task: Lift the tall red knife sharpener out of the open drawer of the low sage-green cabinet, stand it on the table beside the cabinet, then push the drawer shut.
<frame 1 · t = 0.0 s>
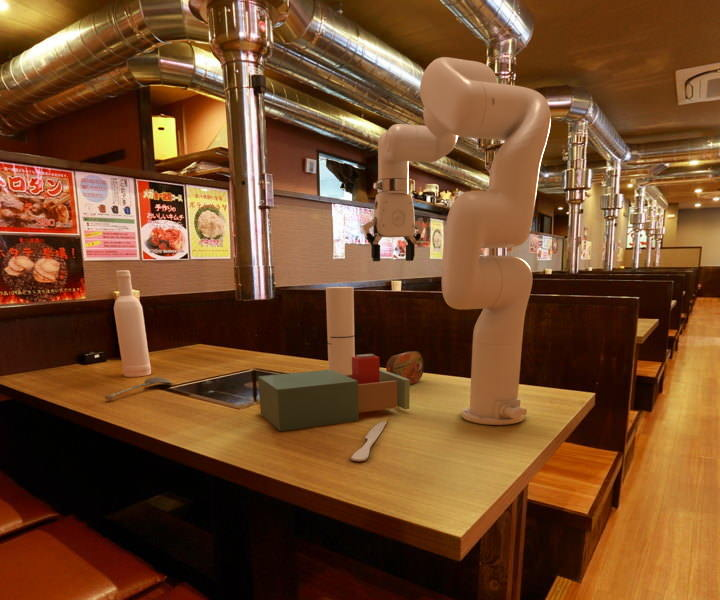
hand: (393, 261, 144), 31 cm above the table, tool pointing down, fingers open, 9 cm apart
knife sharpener: (366, 400, 122), point 2 cm above the table, touching drawer
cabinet: (308, 417, 118), on the table
bottle: (137, 375, 168), on the table
cylindrical container: (342, 383, 151), on the table
butter knife: (371, 440, 101), on the table
drawer: (365, 391, 121), point 4 cm above the table, slide at 11.0 cm, touching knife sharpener
soupspoon: (139, 393, 144), on the table
tin: (404, 385, 148), on the table
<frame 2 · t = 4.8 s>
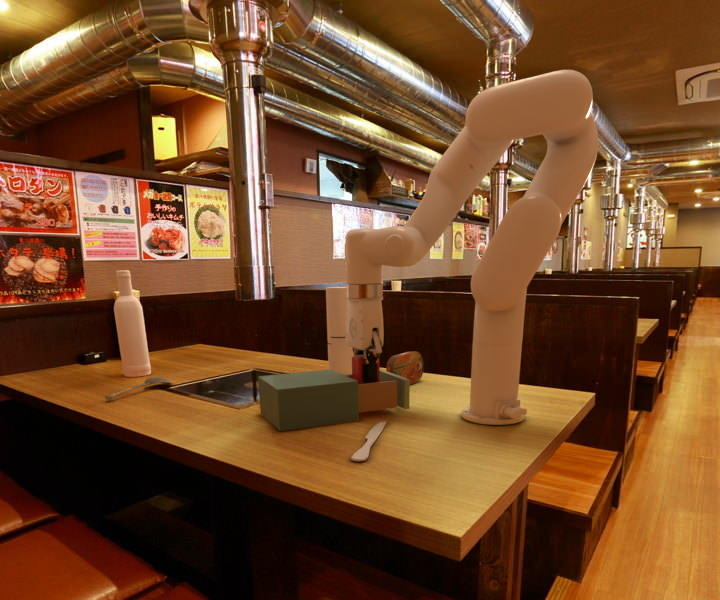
hand: (365, 379, 121), 7 cm above the table, tool pointing down, fingers closed on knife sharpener, 3 cm apart
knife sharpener: (366, 400, 122), point 2 cm above the table, touching drawer, gripper
everything else where it was.
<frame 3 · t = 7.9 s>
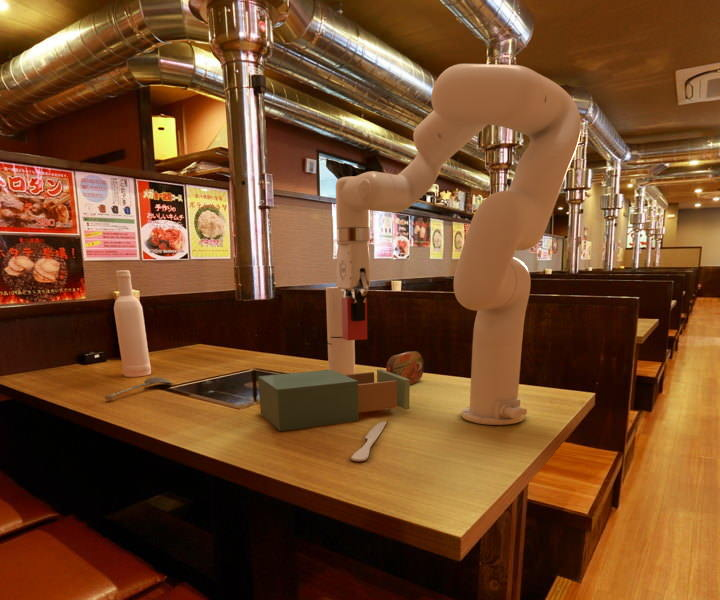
hand: (354, 319, 132), 18 cm above the table, tool pointing down, fingers closed on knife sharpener, 3 cm apart
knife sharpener: (354, 339, 133), point 14 cm above the table, touching gripper
drawer: (365, 391, 121), point 4 cm above the table, slide at 11.0 cm
everything else where it was.
when the fingers open (5 cm above the table, at t = 11.2 s): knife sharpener stays where it is, on the table.
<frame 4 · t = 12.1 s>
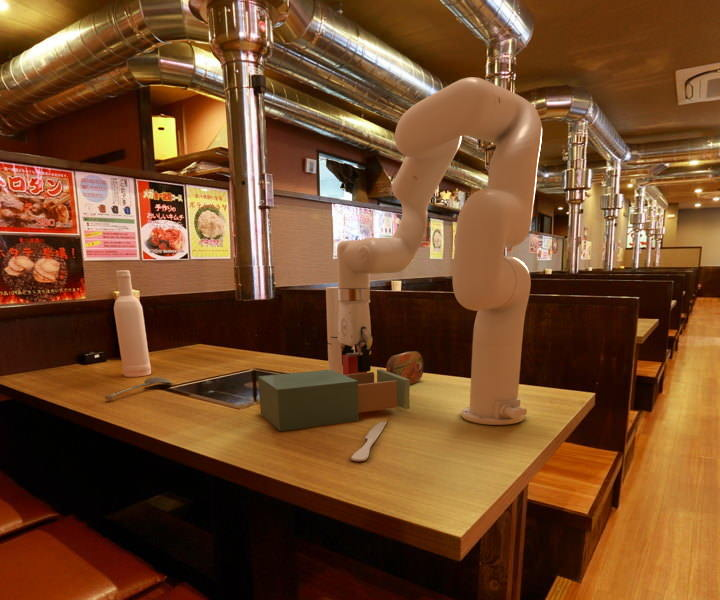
hand: (355, 368, 136), 6 cm above the table, tool pointing down, fingers open, 9 cm apart
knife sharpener: (355, 393, 138), on the table
everything else where it was.
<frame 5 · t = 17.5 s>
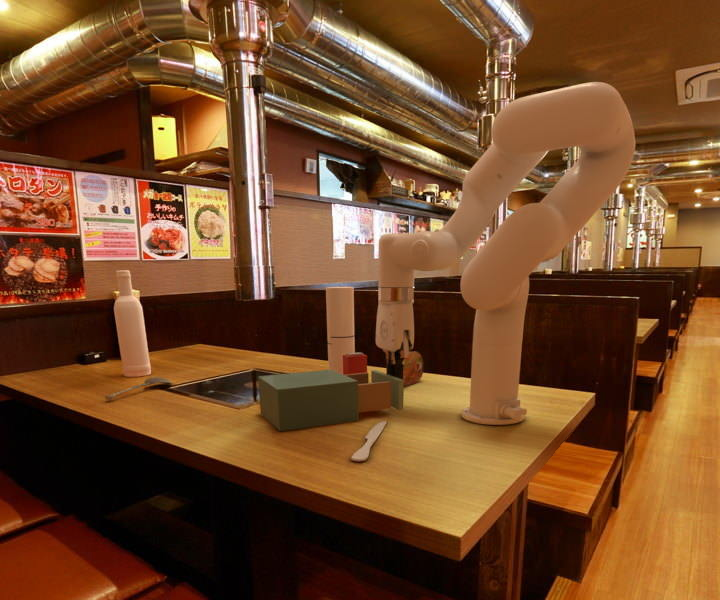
hand: (395, 380, 124), 6 cm above the table, tool pointing down, fingers closed
drawer: (359, 392, 121), point 4 cm above the table, slide at 9.5 cm, touching gripper
everything else where it was.
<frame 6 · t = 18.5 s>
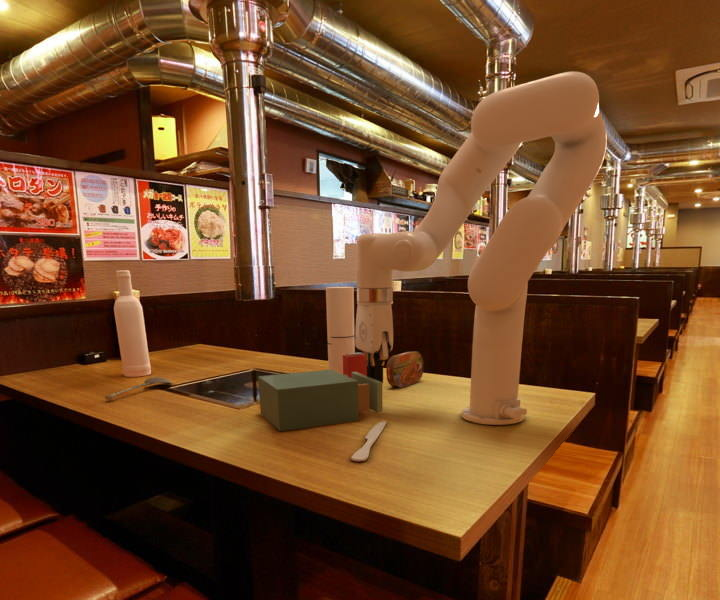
hand: (375, 383, 122), 6 cm above the table, tool pointing down, fingers closed
drawer: (338, 394, 119), point 4 cm above the table, slide at 4.6 cm, touching gripper
everything else where it was.
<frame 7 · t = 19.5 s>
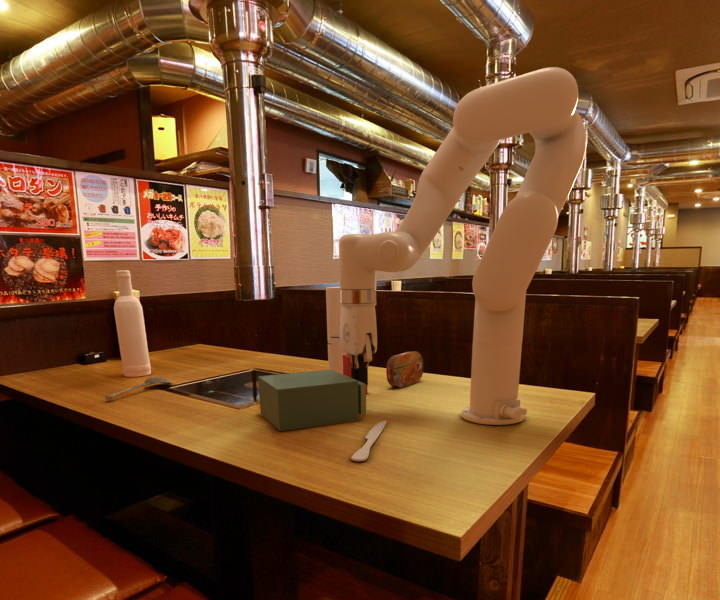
hand: (359, 385, 120), 6 cm above the table, tool pointing down, fingers closed
drawer: (321, 396, 118), point 4 cm above the table, slide at 0.8 cm
everything else where it was.
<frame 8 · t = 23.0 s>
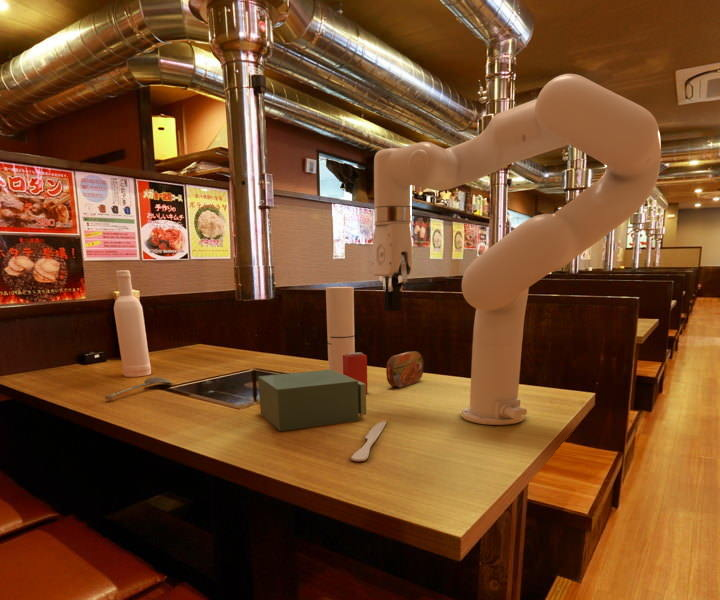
hand: (392, 310, 119), 21 cm above the table, tool pointing down, fingers closed
nothing on the table moved.
at the end: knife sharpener inside the target area on the table beside the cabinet (0.7 cm from its centre), on the table; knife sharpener tilted 0°; drawer slide at 0.8 cm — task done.
